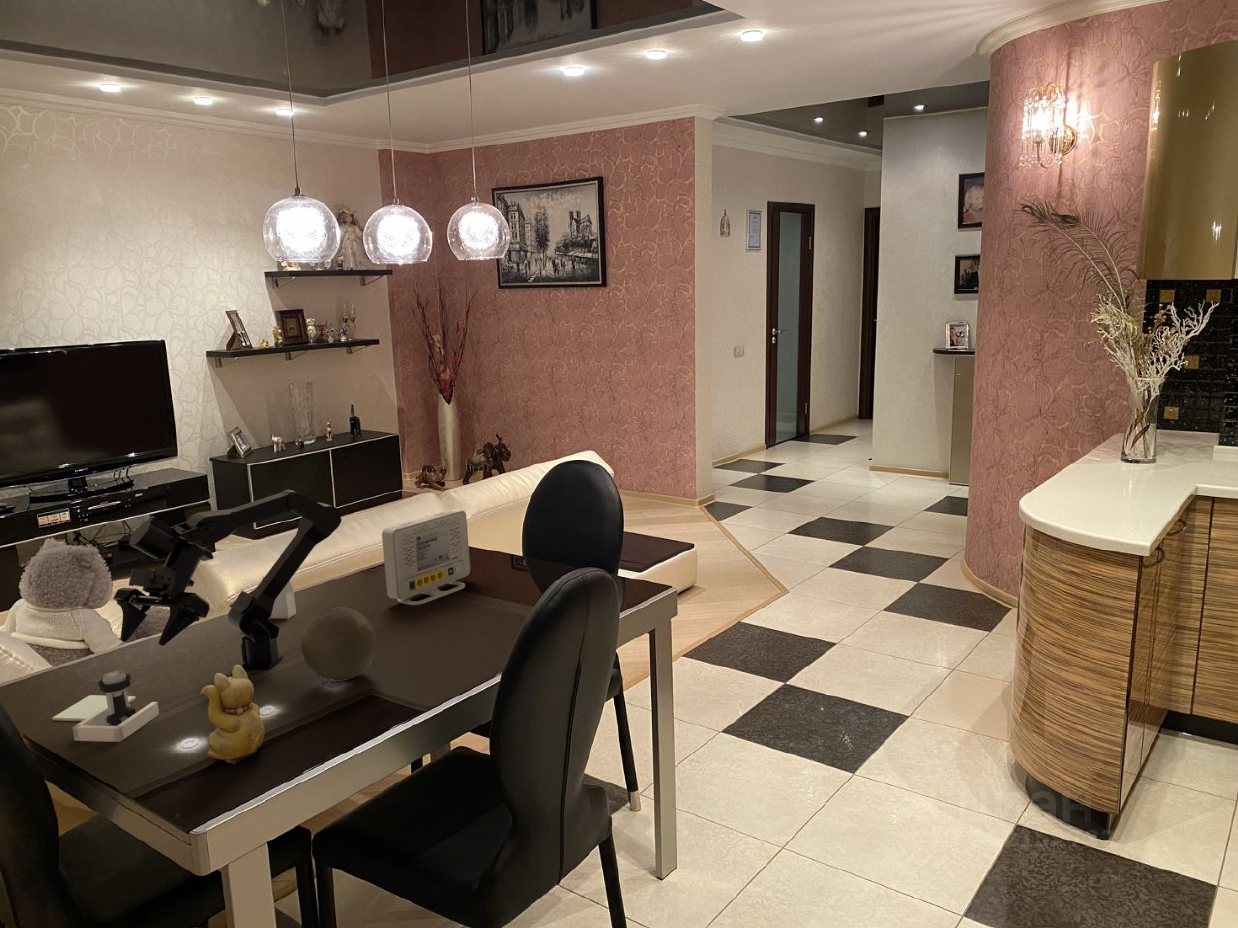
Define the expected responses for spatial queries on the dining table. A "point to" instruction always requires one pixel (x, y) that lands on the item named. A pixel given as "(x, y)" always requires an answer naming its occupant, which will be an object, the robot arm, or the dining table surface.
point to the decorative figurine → (233, 717)
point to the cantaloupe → (338, 643)
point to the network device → (426, 556)
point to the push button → (116, 697)
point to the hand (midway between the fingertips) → (141, 642)
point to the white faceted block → (284, 603)
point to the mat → (85, 708)
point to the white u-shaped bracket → (96, 732)
